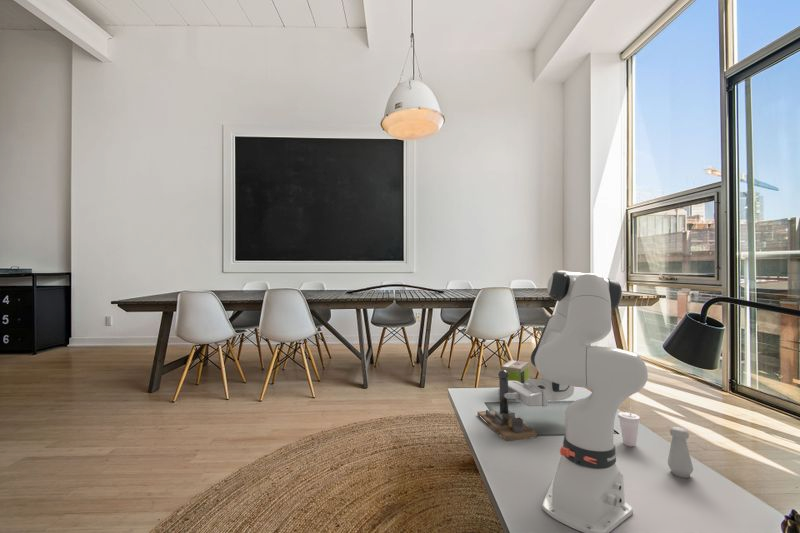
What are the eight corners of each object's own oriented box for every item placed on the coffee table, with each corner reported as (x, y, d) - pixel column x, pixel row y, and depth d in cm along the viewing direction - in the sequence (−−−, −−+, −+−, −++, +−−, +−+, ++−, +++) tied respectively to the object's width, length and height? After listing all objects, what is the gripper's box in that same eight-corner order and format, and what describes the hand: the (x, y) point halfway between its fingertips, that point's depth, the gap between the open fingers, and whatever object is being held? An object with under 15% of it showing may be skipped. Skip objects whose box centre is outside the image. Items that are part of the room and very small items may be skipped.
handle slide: (494, 418, 138) (494, 368, 138) (506, 417, 139) (506, 368, 139) (502, 424, 132) (502, 372, 132) (515, 423, 133) (514, 372, 133)
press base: (477, 415, 145) (477, 401, 145) (504, 412, 148) (503, 398, 148) (506, 440, 122) (506, 423, 123) (536, 437, 125) (536, 420, 125)
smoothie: (644, 449, 116) (643, 406, 117) (623, 447, 117) (622, 405, 118) (635, 440, 122) (634, 399, 123) (615, 438, 124) (614, 398, 124)
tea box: (510, 388, 181) (510, 359, 181) (531, 391, 175) (530, 361, 175) (500, 396, 168) (500, 365, 169) (521, 400, 163) (521, 368, 163)
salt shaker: (694, 473, 102) (693, 428, 102) (692, 482, 97) (691, 434, 98) (669, 466, 106) (667, 422, 106) (666, 474, 101) (665, 428, 102)
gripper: (518, 375, 149) (489, 377, 146) (549, 390, 129) (515, 393, 126) (519, 390, 149) (489, 393, 146) (549, 408, 129) (516, 411, 126)
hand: (501, 393), depth 136 cm, fingers closed on handle slide, 3 cm apart
